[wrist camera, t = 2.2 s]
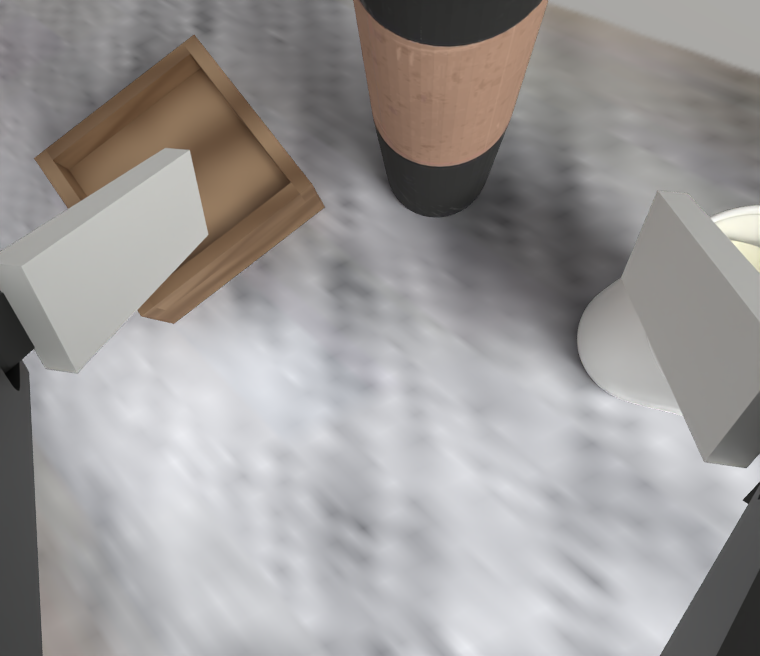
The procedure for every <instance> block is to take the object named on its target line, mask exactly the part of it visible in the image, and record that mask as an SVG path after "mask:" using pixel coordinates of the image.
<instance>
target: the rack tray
mask: <svg viewBox="0 0 760 656" xmlns="http://www.w3.org/2000/svg"><path fill="white" fill-rule="evenodd" d="M164 148H172V149H184V150H190V154H191V158H192V163H193V167H194V172H195V176H196V181H197V185H198V190H199V194H200V199H201V203H202V208H203V212H204V217H205V221H206V226H207V230H208V236H207V237H206V238H205V239H204V240H203V241H202V242H201V243H200V244H199V245H198V246H197V247H196V248H195V249H194V251H193V252H192V253H191V254H190V255H189V256H188V257H187V258H186V259H185V260H184V261H183V262H182V263H181V264H180V265H179V266H178V267H177V269H176V270H175V271H174V272H173V273H172V274H171V275H170V276H169V277H168V278H167V279H166V280H165V281H164V282H163V283H162V284H161V285H160V287H159V288H158V289H157V290H156V291H155V292H154V293H153V294H152V295H151V296H150V297H149V298H148V299H147V300H146V301H145V302H144V303H143V305H142V306H141V307H140V308H139V309H138V310H137V311H138V312H139V313H140V315H141V316H142V317H147V318H151V319H155V320H160V321H164V322H168V323H173V324H174V323H175V322H177V321H178V320H179V319H181V318H182V317H183V316H185V315H186V314H187V313H188V312H190V311H191V310H192V309H194V308H195V307H196V306H197V305H199V304H200V303H201V302H203V301H204V300H205V299H207V298H208V297H209V296H210V295H212V294H213V293H214V292H216V291H217V290H218V289H220V288H221V287H222V286H223V285H225V284H226V283H227V282H229V281H230V280H231V279H232V278H234V277H235V276H236V275H238V274H239V273H240V272H242V271H243V270H244V269H245V268H247V267H248V266H249V265H251V264H252V263H253V262H255V261H256V260H257V259H258V258H260V257H261V256H262V255H264V254H265V253H266V252H267V251H269V250H270V249H271V248H273V247H274V246H275V245H277V244H278V243H279V242H280V241H282V240H283V239H284V238H286V237H287V236H288V235H290V234H291V233H292V232H293V231H295V230H296V229H297V228H299V227H300V226H301V225H302V224H304V223H305V222H306V221H308V220H309V219H310V218H312V217H313V216H314V215H315V214H317V213H318V212H319V211H321V210H322V209H323V208H325V206H324V205H323V203H322V201H321V199H320V197H319V196H318V194H317V192H316V190H315V188H314V187H313V185H312V183H311V182H310V181H309V180H308V178H307V177H306V176H305V175H304V173H303V172H302V171H301V170H300V168H299V167H298V166H297V164H296V163H295V162H294V161H293V159H292V158H291V157H290V156H289V154H288V153H287V152H286V150H285V149H284V148H283V147H282V145H281V144H280V143H279V142H278V140H277V139H276V138H275V137H274V135H273V134H272V133H271V131H270V130H269V129H268V128H267V126H266V125H265V124H264V123H263V121H262V120H261V119H260V117H259V116H258V115H257V114H256V112H255V111H254V110H253V109H252V107H251V106H250V105H249V104H248V102H247V101H246V100H245V98H244V97H243V96H242V95H241V93H240V92H239V91H238V90H237V88H236V87H235V86H234V84H233V83H232V82H231V81H230V79H229V78H228V77H227V76H226V74H225V73H224V72H223V70H222V69H221V68H220V67H219V65H218V64H217V63H216V62H215V60H214V59H213V58H212V57H211V55H210V54H209V53H208V51H207V50H206V49H205V48H204V46H203V45H202V44H201V43H200V41H199V40H198V39H197V37H196V36H195V35H193V36H192V37H190V38H189V39H188V40H186V41H185V42H184V43H183V44H181V45H180V46H179V47H177V48H176V49H175V50H173V51H172V52H171V53H170V54H168V55H167V56H166V57H164V58H163V59H162V60H161V61H159V62H158V63H157V64H155V65H154V66H153V67H151V68H150V69H149V70H148V71H146V72H145V73H144V74H142V75H141V76H140V77H139V78H137V79H136V80H135V81H133V82H132V83H131V84H129V85H128V86H127V87H126V88H124V89H123V90H122V91H120V92H119V93H118V94H117V95H115V96H114V97H113V98H111V99H110V100H109V101H107V102H106V103H105V104H104V105H102V106H101V107H100V108H98V109H97V110H96V111H95V112H93V113H92V114H91V115H89V116H88V117H87V118H86V119H84V120H83V121H82V122H80V123H79V124H78V125H76V126H75V127H74V128H73V129H71V130H70V131H69V132H67V133H66V134H65V135H64V136H62V137H61V138H60V139H58V140H57V141H56V142H54V143H53V144H52V145H51V146H49V147H48V148H47V149H45V150H44V151H43V152H42V153H40V154H39V155H38V156H36V157H35V158H34V159H35V160H36V162H37V163H38V165H39V166H40V168H41V169H42V171H43V172H44V174H45V175H46V177H47V178H48V180H49V181H50V183H51V184H52V185H53V187H54V188H55V190H56V191H57V193H58V194H59V196H60V197H61V199H62V200H63V202H64V203H65V205H66V206H67V208H68V209H69V208H70V207H72V206H74V205H75V204H77V203H78V202H80V201H82V200H83V199H85V198H86V197H88V196H89V195H91V194H93V193H94V192H96V191H97V190H99V189H101V188H102V187H104V186H105V185H107V184H109V183H110V182H112V181H113V180H115V179H117V178H118V177H120V176H121V175H123V174H124V173H126V172H128V171H129V170H131V169H132V168H134V167H136V166H137V165H139V164H140V163H142V162H144V161H145V160H147V159H148V158H150V157H152V156H153V155H155V154H156V153H158V152H159V151H161V150H163V149H164Z"/></svg>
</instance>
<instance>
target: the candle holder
mask: <svg viewBox="0 0 760 656" xmlns="http://www.w3.org/2000/svg"><path fill="white" fill-rule="evenodd" d="M710 218H711V219H712V221H713V222H714V223H715V224H716V225H717V226H718V227H719V228H720V229H721V231H722V232H723V233H724V234H725V235H726V236H727V237H728V238H729V240H730V241H731V242H732V243H733V244H734V245H735V246H736V247H737V248H738V250H739V251H740V252H741V253H742V254H743V255H744V256H745V257H746V259H747V260H748V261H749V262H750V263H751V264H752V265H753V266H754V267H755V269H756V270H757V271H758V272H759V273H760V205H751V206H743V207H737V208H733V209H729V210H726V211H722V212H720V213H717V214H714V215H712V216H710ZM577 346H578V352H579V356H580V359H581V361H582V364H583V366H584V368H585V370H586V371H587V373H588V374H589V376H590V377H591V378H592V380H593V381H594V382H595V383H596V384H597V385H598V386H599V387H601V388H602V389H603V390H604V391H606V392H607V393H609V394H610V395H612V396H614V397H616V398H618V399H621V400H623V401H626V402H629V403H632V404H636V405H640V406H644V407H648V408H652V409H656V410H660V411H664V412H668V413H672V414H677V415H681V416H683V414H682V412H681V410H680V408H679V405H678V403H677V401H676V399H675V397H674V394H673V392H672V390H671V388H670V386H669V383H668V381H667V379H666V377H665V375H664V372H663V370H662V368H661V366H660V364H659V361H658V359H657V357H656V355H655V353H654V350H653V348H652V346H651V344H650V341H649V339H648V337H647V335H646V333H645V330H644V328H643V326H642V324H641V322H640V319H639V317H638V315H637V313H636V311H635V308H634V306H633V304H632V302H631V300H630V297H629V295H628V293H627V291H626V289H625V286H624V284H623V282H622V280H621V278H619V279H618V280H616V281H615V282H613V283H612V284H611V285H609V286H608V287H606V288H605V289H604V290H602V291H601V292H600V293H599V294H598V295H597V296H596V297H595V298H594V299H593V300H592V301H591V302H590V303H589V305H588V306H587V307H586V309H585V311H584V313H583V315H582V317H581V319H580V323H579V326H578V332H577Z"/></svg>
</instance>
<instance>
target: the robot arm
mask: <svg viewBox="0 0 760 656" xmlns="http://www.w3.org/2000/svg"><path fill="white" fill-rule="evenodd" d="M207 236H208V230H207V226H206V221H205V217H204V212H203V208H202V203H201V199H200V194H199V190H198V185H197V181H196V176H195V172H194V167H193V163H192V158H191V154H190V150H184V149H172V148H164V149H163V150H161V151H159V152H158V153H156V154H155V155H153V156H152V157H150V158H148V159H147V160H145V161H144V162H142V163H140V164H139V165H137V166H136V167H134V168H132V169H131V170H129V171H128V172H126V173H124V174H123V175H121V176H120V177H118V178H117V179H115V180H113V181H112V182H110V183H109V184H107V185H105V186H104V187H102V188H101V189H99V190H97V191H96V192H94V193H93V194H91V195H89V196H88V197H86V198H85V199H83V200H82V201H80V202H78V203H77V204H75V205H74V206H72V207H70V208H69V209H67V210H66V211H64V212H62V213H61V214H59V215H58V216H56V217H54V218H53V219H51V220H50V221H48V222H47V223H45V224H43V225H42V226H40V227H39V228H37V229H35V230H34V231H32V232H31V233H29V234H27V235H26V236H24V237H23V238H21V239H20V240H18V241H16V242H15V243H13V244H12V245H10V246H8V247H7V248H5V249H4V250H2V251H0V656H43V654H42V633H41V613H40V592H39V571H38V550H37V529H36V508H35V487H34V466H33V445H32V425H31V404H30V383H29V372H28V370H27V368H26V366H25V364H24V362H23V361H22V359H23V358H24V357H25V356H26V355H27V354H28V353H30V352H31V351H32V350H33V349H34V350H35V351H36V353H37V355H38V357H39V358H40V360H41V362H42V364H43V365H44V367H45V369H49V370H56V371H63V372H70V373H78V372H79V371H80V370H81V369H82V368H83V367H84V366H85V365H86V364H87V363H88V362H89V361H90V360H91V358H92V357H93V356H94V355H95V354H96V353H97V352H98V351H99V350H100V349H101V348H102V347H103V346H104V345H105V344H106V343H107V342H108V340H109V339H110V338H111V337H112V336H113V335H114V334H115V333H116V332H117V331H118V330H119V329H120V328H121V327H122V326H123V325H124V324H125V322H126V321H127V320H128V319H129V318H130V317H131V316H132V315H133V314H134V313H135V312H136V311H137V310H138V309H139V308H140V307H141V306H142V305H143V303H144V302H145V301H146V300H147V299H148V298H149V297H150V296H151V295H152V294H153V293H154V292H155V291H156V290H157V289H158V288H159V287H160V285H161V284H162V283H163V282H164V281H165V280H166V279H167V278H168V277H169V276H170V275H171V274H172V273H173V272H174V271H175V270H176V269H177V267H178V266H179V265H180V264H181V263H182V262H183V261H184V260H185V259H186V258H187V257H188V256H189V255H190V254H191V253H192V252H193V251H194V249H195V248H196V247H197V246H198V245H199V244H200V243H201V242H202V241H203V240H204V239H205V238H206V237H207ZM621 280H622V282H623V284H624V286H625V289H626V291H627V293H628V295H629V297H630V300H631V302H632V304H633V306H634V308H635V311H636V313H637V315H638V317H639V319H640V322H641V324H642V326H643V328H644V330H645V333H646V335H647V337H648V339H649V341H650V344H651V346H652V348H653V350H654V353H655V355H656V357H657V359H658V361H659V364H660V366H661V368H662V370H663V372H664V375H665V377H666V379H667V381H668V383H669V386H670V388H671V390H672V392H673V394H674V397H675V399H676V401H677V403H678V405H679V408H680V410H681V412H682V414H683V417H684V419H685V421H686V423H687V425H688V428H689V430H690V432H691V434H692V436H693V439H694V441H695V443H696V445H697V447H698V450H699V452H700V454H701V456H702V458H703V461H704V462H706V463H713V464H720V465H727V466H734V467H741V468H747V467H748V466H749V465H750V464H751V463H752V462H753V460H754V459H755V458H756V457H757V456H758V455H759V454H760V273H759V272H758V271H757V270H756V269H755V267H754V266H753V265H752V264H751V263H750V262H749V261H748V260H747V259H746V257H745V256H744V255H743V254H742V253H741V252H740V251H739V250H738V248H737V247H736V246H735V245H734V244H733V243H732V242H731V241H730V240H729V238H728V237H727V236H726V235H725V234H724V233H723V232H722V231H721V229H720V228H719V227H718V226H717V225H716V224H715V223H714V222H713V221H712V219H711V218H710V217H709V216H708V215H707V214H706V213H705V212H704V210H703V209H702V208H701V207H700V206H699V205H698V204H697V203H696V202H695V200H694V199H693V198H692V197H691V196H690V195H689V194H688V193H681V192H669V191H657V193H656V195H655V198H654V200H653V203H652V205H651V207H650V210H649V212H648V215H647V217H646V219H645V222H644V224H643V226H642V229H641V231H640V234H639V236H638V238H637V241H636V243H635V246H634V248H633V250H632V253H631V255H630V258H629V260H628V262H627V265H626V267H625V269H624V272H623V274H622V277H621ZM743 501H745V502H746V503H748V506H747V507H746V509H745V511H744V513H743V514H742V516H741V518H740V519H739V521H738V523H737V525H736V526H735V528H734V530H733V531H732V533H731V535H730V537H729V538H728V540H727V542H726V543H725V545H724V547H723V549H722V550H721V552H720V554H719V555H718V557H717V559H716V561H715V562H714V564H713V566H712V567H711V569H710V571H709V573H708V574H707V576H706V578H705V579H704V581H703V583H702V584H701V586H700V588H699V590H698V591H697V593H696V595H695V596H694V598H693V600H692V602H691V603H690V605H689V607H688V608H687V610H686V612H685V614H684V615H683V617H682V619H681V620H680V622H679V624H678V626H677V627H676V629H675V631H674V632H673V634H672V636H671V638H670V639H669V641H668V643H667V644H666V646H665V648H664V650H663V651H662V653H661V655H660V656H760V482H759V483H758V484H757V485H756V486H755V488H754V489H753V490H752V491H751V492H750V493H749V494H748V495H747V496H746V497H745V498H744V499H743Z"/></svg>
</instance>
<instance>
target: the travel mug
mask: <svg viewBox="0 0 760 656" xmlns="http://www.w3.org/2000/svg"><path fill="white" fill-rule="evenodd" d="M353 1H354V7H355V13H356V19H357V25H358V31H359V37H360V43H361V49H362V55H363V61H364V66H365V72H366V78H367V84H368V90H369V96H370V102H371V108H372V114H373V118H374V123H375V127H376V131H377V135H378V140H379V144H380V148H381V152H382V156H383V160H384V164H385V168H386V172H387V176H388V180H389V183H390V186H391V188H392V190H393V193H394V194H395V196H396V197H397V199H398V200H399V201H400V202H401V203H402V204H403V205H404V206H405V207H407V208H408V209H410V210H411V211H413V212H415V213H417V214H420V215H423V216H428V217H444V216H449V215H452V214H455V213H457V212H459V211H461V210H463V209H464V208H466V207H467V206H469V205H470V204H471V203H472V202H473V201H474V200H475V199H476V198H477V196H478V195H479V193H480V192H481V190H482V188H483V186H484V184H485V182H486V179H487V177H488V174H489V172H490V169H491V167H492V164H493V162H494V159H495V157H496V154H497V152H498V149H499V147H500V144H501V142H502V139H503V137H504V134H505V132H506V129H507V126H508V124H509V121H510V119H511V116H512V113H513V110H514V107H515V104H516V100H517V97H518V94H519V91H520V88H521V85H522V82H523V78H524V75H525V72H526V69H527V66H528V63H529V60H530V56H531V53H532V50H533V47H534V44H535V41H536V38H537V34H538V31H539V28H540V25H541V22H542V19H543V16H544V13H545V9H546V6H547V3H548V0H353Z"/></svg>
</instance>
